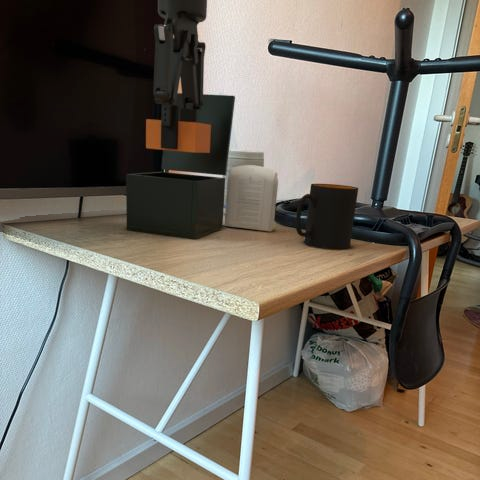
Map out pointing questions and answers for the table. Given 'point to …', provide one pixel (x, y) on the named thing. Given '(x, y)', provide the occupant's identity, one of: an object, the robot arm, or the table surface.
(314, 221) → the mug
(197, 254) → the table surface
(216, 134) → the bin lid
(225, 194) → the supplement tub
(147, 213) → the bin
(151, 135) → the block
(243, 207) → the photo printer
